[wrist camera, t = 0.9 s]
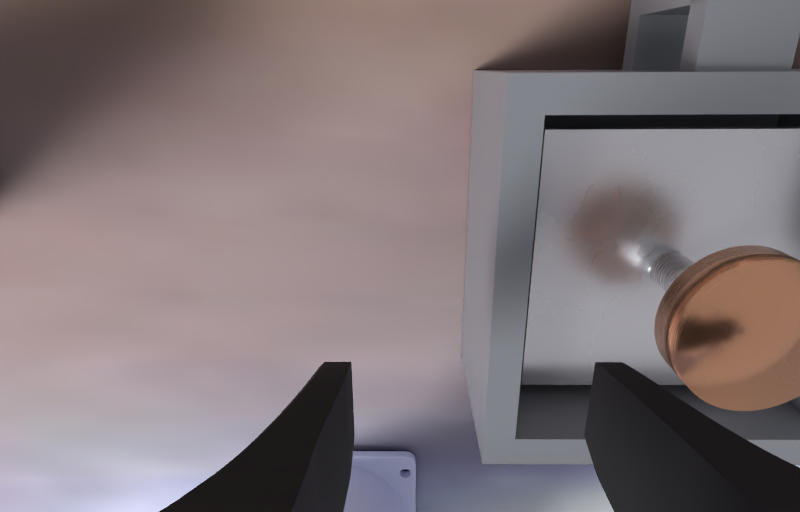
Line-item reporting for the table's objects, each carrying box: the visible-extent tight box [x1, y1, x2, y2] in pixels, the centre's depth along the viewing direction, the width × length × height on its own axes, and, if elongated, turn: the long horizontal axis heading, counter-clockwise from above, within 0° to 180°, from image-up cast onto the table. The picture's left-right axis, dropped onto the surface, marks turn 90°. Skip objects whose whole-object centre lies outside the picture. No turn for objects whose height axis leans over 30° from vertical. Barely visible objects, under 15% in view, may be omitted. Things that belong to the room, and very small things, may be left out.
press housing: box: [461, 0, 800, 465], centre depth 17 cm, size 15×12×6 cm
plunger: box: [521, 126, 800, 411], centre depth 15 cm, size 9×9×5 cm
